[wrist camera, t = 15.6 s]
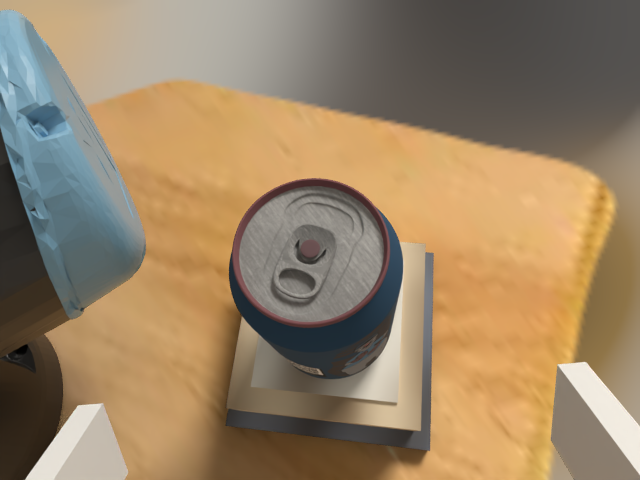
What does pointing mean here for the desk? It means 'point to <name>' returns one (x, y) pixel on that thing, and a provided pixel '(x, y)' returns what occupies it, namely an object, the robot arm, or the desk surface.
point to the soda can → (318, 276)
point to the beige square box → (347, 379)
